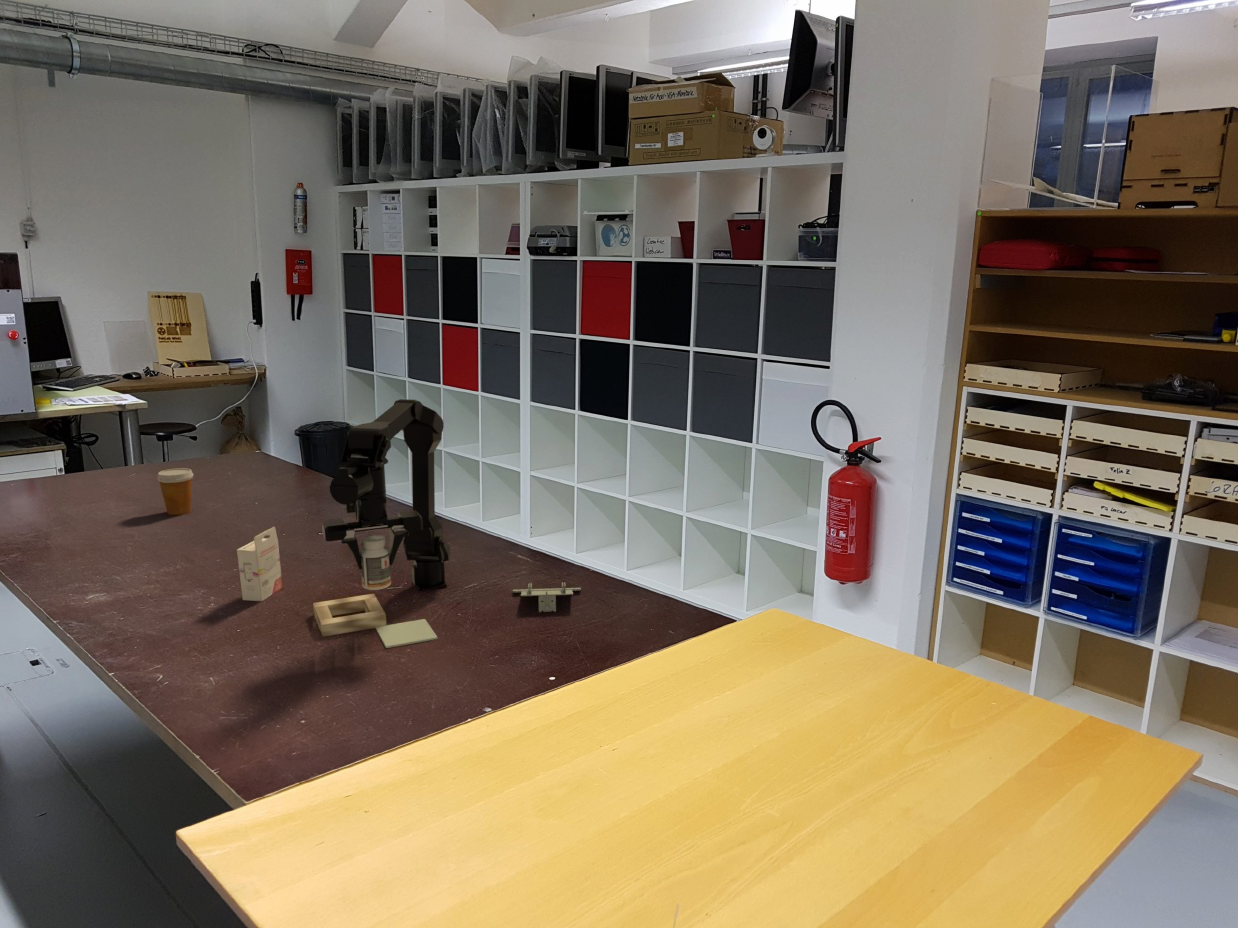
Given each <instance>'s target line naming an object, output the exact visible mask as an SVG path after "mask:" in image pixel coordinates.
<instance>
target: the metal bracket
mask: <svg viewBox="0 0 1238 928" xmlns="http://www.w3.org/2000/svg"><path fill="white" fill-rule="evenodd" d="M581 589H582V588H581V587H566V582H561V587H560V588H533V584H532V582H530V583H528V586H527V589H526V588H525V589H523V588H522V589H512V593H521V594H520V597H534V596H536V597H537V596H538V613H541V612H542V611H543V613H546V612H547V613H548V612H552V611H553V612H557V603H556V602H557V599H556V598H557V596H568V595H574V591H575V592H576V591H581Z"/></svg>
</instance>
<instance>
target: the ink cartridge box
mask: <svg viewBox="0 0 1238 928" xmlns="http://www.w3.org/2000/svg"><path fill="white" fill-rule="evenodd" d="M276 529H277V528H276V527H275V526H272V527H271V528H269V529H266V530H265V531H263V532H261V533H259V534H258V535H255V536H254V537H253V541H250V542H249V543H247V544H245V545H244V546H241V547H239V548H238V549H236V553H237V563H238V569H239V579H240V588H241V594H242V595H241V597H242V601H252V602H263V601H265V600H267V599H268V598H270V596H272V595H275V593H277V592H279V591H280V590H281V589H283V581H282V579H283V578H282V569H281V568H282V567H281V559H280V558H281V557H280V551H279V549H280V548H279V539H278V535H277V530H276ZM265 536H268V538H267V537H266V538H265Z"/></svg>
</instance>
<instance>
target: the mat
mask: <svg viewBox="0 0 1238 928" xmlns="http://www.w3.org/2000/svg"><path fill="white" fill-rule="evenodd" d="M375 630H376V632H377V634H378V636H379V637H380V640H381V642H382V643H383V645H384V647H385V648H386V649H390V648H395V647H400V646H401V647H402V646H406V645H411V644H416V643H423V642H429V641H434V640H438V636H437V634H436V633H435V631H434V630H433V629H432V627H431V625H430V624H429V622H428V621H427V620H426V618H422V619H417V620H410V621H405V622H400V623H399V622H398V623H393V624H386V626H380V627H376V628H375Z"/></svg>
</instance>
